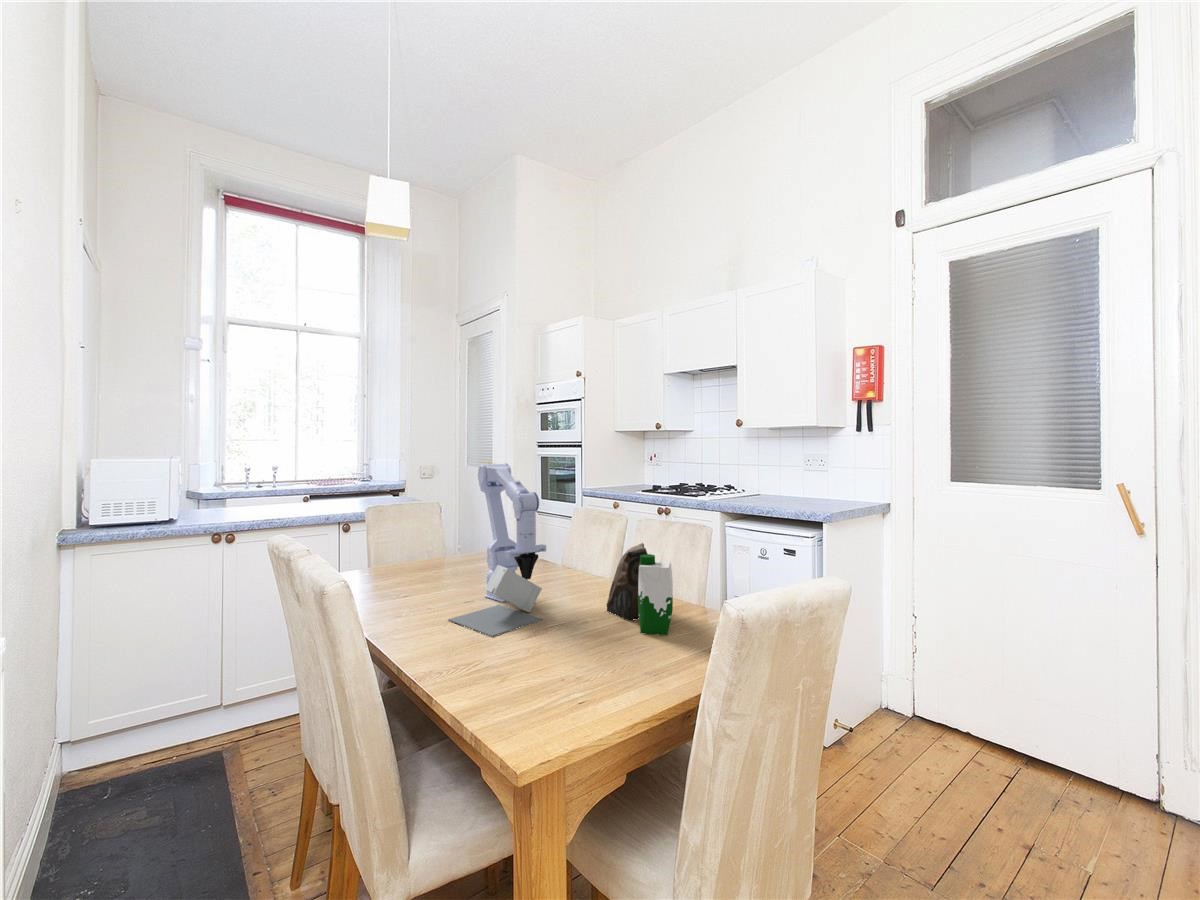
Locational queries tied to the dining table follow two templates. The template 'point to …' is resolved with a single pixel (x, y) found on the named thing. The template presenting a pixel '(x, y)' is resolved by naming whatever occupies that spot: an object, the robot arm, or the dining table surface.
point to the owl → (626, 585)
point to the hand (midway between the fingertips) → (526, 578)
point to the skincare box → (513, 588)
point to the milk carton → (655, 595)
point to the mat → (495, 620)
